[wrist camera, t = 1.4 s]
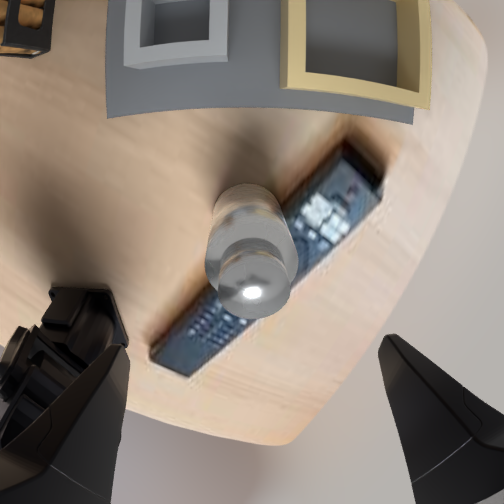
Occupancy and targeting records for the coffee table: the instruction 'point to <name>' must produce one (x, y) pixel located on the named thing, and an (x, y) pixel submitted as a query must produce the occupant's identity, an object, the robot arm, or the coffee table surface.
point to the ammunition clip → (25, 27)
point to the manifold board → (269, 56)
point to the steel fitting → (250, 252)
